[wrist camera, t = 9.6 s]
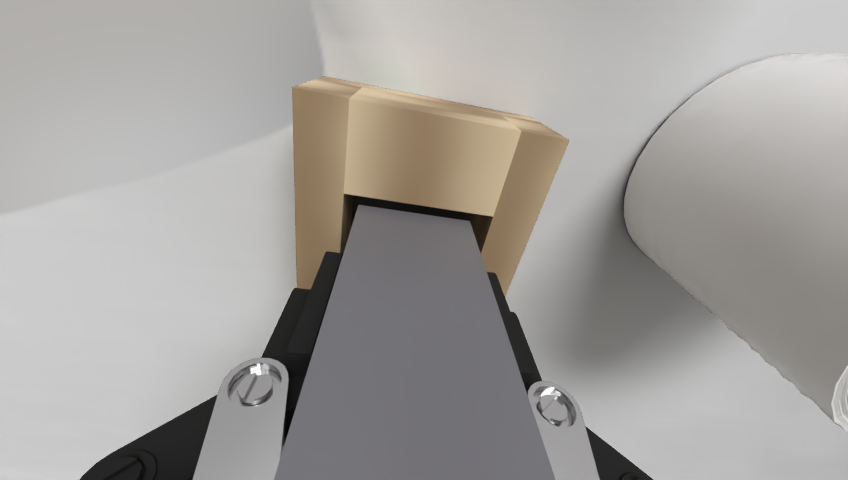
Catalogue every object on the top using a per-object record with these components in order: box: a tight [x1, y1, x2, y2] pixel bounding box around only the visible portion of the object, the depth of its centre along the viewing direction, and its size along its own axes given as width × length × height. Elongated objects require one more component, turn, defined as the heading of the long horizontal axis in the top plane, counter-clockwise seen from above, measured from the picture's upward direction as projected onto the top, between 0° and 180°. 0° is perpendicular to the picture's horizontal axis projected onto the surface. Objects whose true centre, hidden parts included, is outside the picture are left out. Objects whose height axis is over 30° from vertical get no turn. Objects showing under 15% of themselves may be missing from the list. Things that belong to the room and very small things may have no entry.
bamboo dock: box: [292, 76, 569, 296], centre depth 15 cm, size 9×12×4 cm
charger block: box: [274, 205, 556, 480], centre depth 9 cm, size 4×4×9 cm
